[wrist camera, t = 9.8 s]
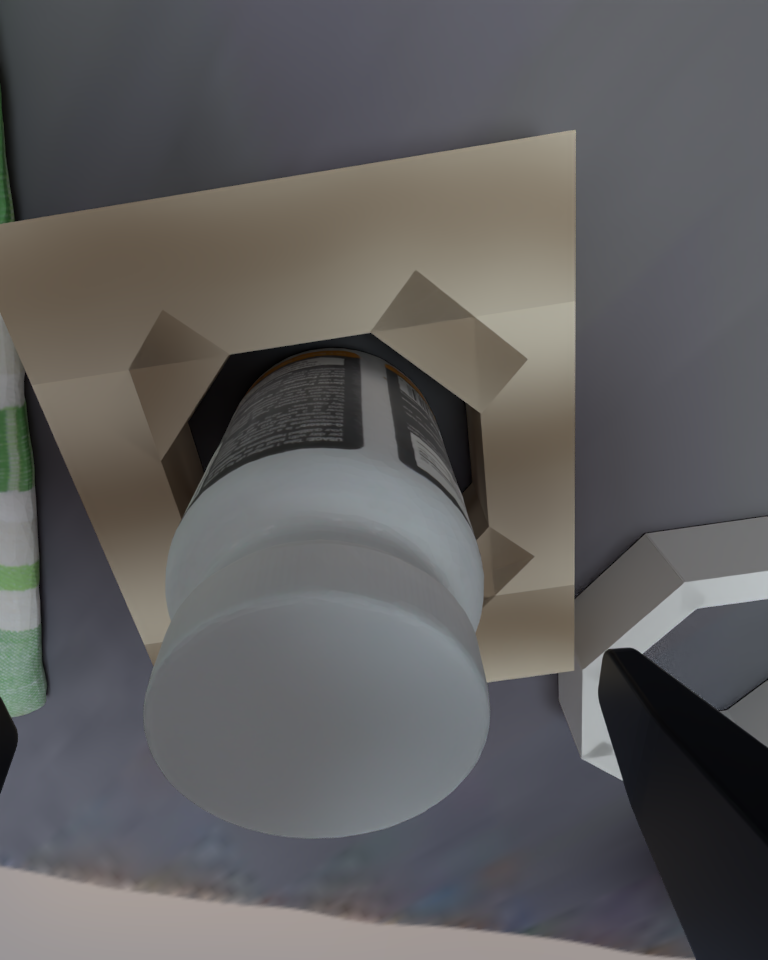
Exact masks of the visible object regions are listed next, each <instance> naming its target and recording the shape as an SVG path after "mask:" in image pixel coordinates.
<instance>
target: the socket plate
mask: <svg viewBox="0 0 768 960" xmlns="http://www.w3.org/2000/svg"><path fill="white" fill-rule="evenodd" d="M575 253H576V130H572V131H565V132H559V133H553V134H547V135H541V136H535V137H529V138H523V139H517V140H510V141H504V142H498V143H492V144H486V145H480V146H474V147H468V148H462V149H455V150H449V151H443V152H437V153H431V154H425V155H419V156H413V157H407V158H401V159H394V160H388V161H382V162H376V163H370V164H364V165H358V166H352V167H346V168H339V169H333V170H327V171H321V172H315V173H309V174H303V175H297V176H291V177H284V178H278V179H272V180H266V181H260V182H254V183H248V184H242V185H236V186H229V187H223V188H217V189H211V190H205V191H199V192H193V193H187V194H181V195H174V196H168V197H162V198H156V199H150V200H144V201H138V202H132V203H126V204H119V205H113V206H107V207H101V208H95V209H89V210H83V211H77V212H71V213H64V214H58V215H52V216H46V217H40V218H34V219H28V220H22V221H16V222H9V223H3V224H0V313H1V316H2V318H3V320H4V323H5V325H6V327H7V330H8V332H9V334H10V336H11V339H12V341H13V343H14V346H15V348H16V350H17V353H18V355H19V357H20V360H21V362H22V364H23V366H24V369H25V371H26V373H27V376H28V378H29V380H30V383H31V385H32V387H33V389H34V392H35V394H36V396H37V399H38V401H39V403H40V406H41V408H42V410H43V413H44V415H45V417H46V419H47V422H48V424H49V426H50V429H51V431H52V433H53V436H54V438H55V440H56V442H57V445H58V447H59V449H60V452H61V454H62V456H63V459H64V461H65V463H66V466H67V468H68V470H69V472H70V475H71V477H72V479H73V482H74V484H75V486H76V489H77V491H78V493H79V495H80V498H81V500H82V502H83V505H84V507H85V509H86V512H87V514H88V516H89V519H90V521H91V523H92V525H93V528H94V530H95V532H96V535H97V537H98V539H99V542H100V544H101V546H102V548H103V551H104V553H105V555H106V558H107V560H108V562H109V565H110V567H111V569H112V572H113V574H114V576H115V578H116V581H117V583H118V585H119V588H120V590H121V592H122V595H123V597H124V599H125V601H126V604H127V606H128V608H129V611H130V613H131V615H132V618H133V620H134V622H135V624H136V627H137V629H138V631H139V634H140V636H141V638H142V641H143V643H144V645H145V648H146V650H147V652H148V654H149V657H150V659H151V661H152V664H153V666H154V664H155V662H156V659H157V656H158V653H159V651H160V648H161V645H162V642H163V639H164V637H165V634H166V632H167V629H168V627H169V625H170V623H171V619H170V616H169V613H168V608H167V602H166V594H165V580H166V565H167V559H168V553H169V549H170V546H171V542H172V539H173V537H174V534H175V532H176V530H177V528H178V526H179V524H180V522H181V520H182V518H183V515H184V513H185V511H186V509H187V507H188V505H189V503H190V501H191V499H192V497H193V495H194V493H195V491H196V489H197V487H198V485H199V483H200V481H201V479H202V477H203V475H204V471H203V468H202V465H201V462H200V459H199V456H198V452H197V449H196V446H195V443H194V440H193V437H192V433H191V430H190V427H189V424H188V421H189V420H190V418H191V417H192V415H193V413H194V412H195V410H196V409H197V407H198V406H199V404H200V402H201V401H202V399H203V398H204V396H205V395H206V393H207V392H208V390H209V388H210V387H211V385H212V384H213V382H214V381H215V379H216V377H217V376H218V374H219V373H220V371H221V370H222V368H223V366H224V365H225V363H226V362H227V360H228V359H229V357H230V356H231V354H237V353H243V352H250V351H256V350H263V349H269V348H276V347H282V346H289V345H295V344H301V343H308V342H314V341H321V340H327V339H334V338H340V337H347V336H353V335H360V334H366V333H372V334H373V335H375V336H376V337H377V338H379V339H380V340H381V341H383V342H384V343H385V344H387V345H388V346H390V347H391V348H392V349H394V350H395V351H396V352H398V353H399V354H400V355H402V356H403V357H405V358H406V359H407V360H409V361H410V362H411V363H413V364H414V365H415V366H417V367H418V368H420V369H421V370H422V371H424V372H425V373H426V374H428V375H429V376H430V377H432V378H433V379H434V380H436V381H437V382H439V383H440V384H441V385H443V386H444V387H445V388H447V389H448V390H449V391H451V392H452V393H454V394H455V395H456V396H458V397H459V398H460V399H462V400H463V401H464V402H465V403H466V415H467V426H468V438H469V449H470V461H471V473H472V483H471V484H470V486H469V487H468V488H467V489H466V490H465V491H464V492H463V493H462V496H463V500H464V504H465V507H466V510H467V514H468V517H469V520H470V523H471V526H472V529H473V532H474V535H475V538H476V541H477V544H478V548H479V551H480V554H481V561H482V566H483V572H484V597H483V606H482V613H481V617H480V621H479V624H478V627H477V630H476V633H475V634H476V637H477V641H478V646H479V650H480V655H481V659H482V664H483V668H484V672H485V676H486V681H487V682H495V681H502V680H509V679H517V678H524V677H532V676H539V675H546V674H554V673H561V672H569V671H574V584H575Z"/></svg>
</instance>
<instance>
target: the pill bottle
mask: <svg viewBox="0 0 768 960" xmlns="http://www.w3.org/2000/svg"><path fill="white" fill-rule="evenodd" d="M165 594H166V602H167V608H168V613H169V616H170V619H171V623H170V625H169V627H168V629H167V632H166V634H165V637H164V639H163V642H162V645H161V648H160V651H159V653H158V656H157V659H156V662H155V664H154V667H153V670H152V673H151V677H150V680H149V684H148V687H147V691H146V695H145V701H144V712H143V721H144V731H145V735H146V739H147V742H148V746H149V749H150V752H151V754H152V756H153V758H154V759H155V761H156V763H157V765H158V766H159V768H160V770H161V771H162V773H163V774H164V776H165V777H166V778H167V780H168V781H169V782H170V783H171V784H172V785H173V786H174V787H175V788H176V789H177V790H178V791H179V792H180V793H181V794H182V795H184V796H185V797H186V798H187V799H189V800H190V801H192V802H193V803H194V804H196V805H197V806H199V807H200V808H202V809H203V810H205V811H207V812H209V813H211V814H213V815H215V816H217V817H219V818H221V819H222V820H224V821H227V822H230V823H233V824H235V825H238V826H240V827H243V828H246V829H250V830H254V831H258V832H262V833H266V834H270V835H277V836H284V837H291V838H307V839H315V838H337V837H346V836H353V835H359V834H364V833H369V832H373V831H378V830H382V829H385V828H388V827H391V826H394V825H397V824H399V823H401V822H404V821H406V820H408V819H411V818H413V817H415V816H417V815H419V814H421V813H423V812H425V811H426V810H428V809H429V808H430V807H432V806H434V805H435V804H437V803H439V802H440V801H441V800H443V799H444V798H445V797H446V796H448V795H449V794H450V793H451V792H453V791H454V790H455V789H456V788H457V787H458V786H459V785H460V783H461V782H462V781H463V780H464V779H465V778H466V777H467V776H468V775H469V773H470V772H471V771H472V769H473V768H474V766H475V765H476V763H477V761H478V759H479V758H480V755H481V753H482V750H483V748H484V745H485V743H486V740H487V736H488V731H489V725H490V700H489V692H488V685H487V681H486V676H485V672H484V668H483V664H482V659H481V655H480V650H479V646H478V641H477V637H476V634H475V633H476V630H477V627H478V624H479V621H480V617H481V613H482V606H483V597H484V572H483V566H482V561H481V554H480V551H479V548H478V544H477V541H476V538H475V535H474V532H473V529H472V526H471V523H470V520H469V517H468V514H467V510H466V507H465V504H464V500H463V496H462V494H461V491H460V489H459V486H458V484H457V481H456V478H455V476H454V473H453V470H452V467H451V464H450V461H449V458H448V455H447V452H446V449H445V446H444V443H443V440H442V437H441V434H440V430H439V427H438V425H437V422H436V419H435V416H434V415H433V413H432V411H431V409H430V407H429V405H428V403H427V401H426V399H425V398H424V396H423V395H422V393H421V392H420V390H419V389H418V388H417V387H416V385H415V384H414V383H413V382H412V381H411V380H410V379H409V378H408V377H407V376H406V375H405V374H403V373H402V372H401V371H400V370H398V369H397V368H396V367H394V366H392V365H391V364H389V363H388V362H386V361H384V360H383V359H381V358H378V357H376V356H373V355H371V354H368V353H365V352H361V351H357V350H350V349H345V348H323V349H316V350H309V351H305V352H302V353H299V354H296V355H293V356H291V357H288V358H286V359H284V360H282V361H281V362H279V363H277V364H275V365H274V366H272V367H271V368H270V369H269V370H267V371H266V372H265V373H264V374H262V375H261V376H260V377H259V378H258V379H257V380H256V381H255V383H254V384H253V385H252V386H251V387H250V388H249V390H248V391H247V393H246V394H245V396H244V397H243V399H242V400H241V402H240V403H239V405H238V407H237V409H236V411H235V413H234V415H233V417H232V419H231V421H230V424H229V426H228V428H227V430H226V432H225V434H224V436H223V438H222V440H221V442H220V444H219V446H218V448H217V450H216V452H215V453H214V455H213V457H212V459H211V461H210V462H209V464H208V466H207V469H206V471H205V473H204V475H203V477H202V479H201V481H200V483H199V485H198V487H197V489H196V491H195V493H194V495H193V497H192V499H191V501H190V503H189V505H188V507H187V509H186V511H185V513H184V515H183V518H182V520H181V522H180V524H179V526H178V528H177V530H176V532H175V534H174V537H173V539H172V542H171V546H170V549H169V553H168V559H167V565H166V580H165Z"/></svg>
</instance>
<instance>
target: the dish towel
mask: <svg viewBox="0 0 768 960" xmlns="http://www.w3.org/2000/svg"><path fill="white" fill-rule="evenodd" d="M9 222H15V217H14V209H13V203H12V196H11V190H10V183H9V176H8V168H7V161H6V153H5V139H4V125H3V116H2V104H1V85H0V224H3V223H9ZM24 376H25V369H24V366H23V364H22V362H21V360H20V357H19V355H18V353H17V350H16V348H15V346H14V343H13V341H12V339H11V336H10V334H9V332H8V330H7V327H6V325H5V323H4V320H3V318H2V316H1V313H0V697H1V698H2V700H3V702H4V704H5V706H6V708H7V710H8V712H9V714H10V716H11V717H17V716H21V715H25V714H29V713H31V712H33V711H35V710H37V709H40V708H41V707H42V706H44V704H45V702H46V689H47V682H46V677H45V673H44V668H43V663H42V644H41V613H40V594H39V580H40V575H39V546H38V527H37V507H36V493H35V467H34V458H33V451H32V445H31V440H30V433H29V426H28V417H27V408H26V401H25V397H24Z"/></svg>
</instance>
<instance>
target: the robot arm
mask: <svg viewBox="0 0 768 960" xmlns="http://www.w3.org/2000/svg"><path fill="white" fill-rule="evenodd" d="M598 699H599V704H600V707H601V711H602V714H603V717H604V720H605V724H606V727H607V730H608V733H609V737H610V740H611V743H612V746H613V750H614V753H615V756H616V759H617V763H618V766H619V769H620V772H621V776H622V779H623V782H624V786H625V789H626V792H627V795H628V798H629V801H630V804H631V807H632V809H633V812H634V814H635V817H636V819H637V822H638V824H639V827H640V829H641V831H642V834H643V836H644V838H645V841H646V843H647V845H648V848H649V850H650V853H651V855H652V857H653V860H654V862H655V864H656V867H657V869H658V871H659V874H660V876H661V878H662V881H663V883H664V885H665V888H666V890H667V892H668V895H669V897H670V899H671V902H672V904H673V907H674V909H675V911H676V914H677V916H678V918H679V921H680V923H681V925H682V928H683V930H684V932H685V935H686V937H687V939H688V942H689V944H690V946H691V949H692V951H693V954H694V956H695V958H696V960H768V747H767V746H765V745H764V744H762V743H761V742H760V741H758V740H757V739H756V738H754V737H753V736H752V735H750V734H749V733H748V732H746V731H745V730H744V729H742V728H741V727H740V726H738V725H737V724H736V723H734V722H733V721H732V720H730V719H729V718H728V717H726V716H725V715H724V714H722V713H721V712H720V711H718V710H717V709H716V708H714V707H713V706H711V705H710V704H709V703H707V702H706V701H705V700H703V699H702V698H701V697H699V696H698V695H697V694H695V693H694V692H693V691H691V690H690V689H689V688H687V687H686V686H685V685H683V684H682V683H681V682H679V681H678V680H677V679H675V678H674V677H673V676H671V675H670V674H669V673H667V672H666V671H665V670H663V669H662V668H660V667H659V666H658V665H656V664H655V663H654V662H652V661H651V660H650V659H648V658H647V657H646V656H644V655H643V654H642V653H640V652H639V651H638V650H636V649H634V648H614V649H608V650H606V651H605V652H604V654H603V658H602V665H601V671H600V678H599V685H598ZM17 742H18V733H17V729H16V726H15V724H14V722H13V720H12V718H11V716H10V714H9V712H8V710H7V708H6V706H5V704H4V702H3V700H2V698H1V697H0V793H1V790H2V787H3V785H4V782H5V779H6V776H7V773H8V770H9V767H10V765H11V762H12V759H13V756H14V753H15V750H16V747H17Z"/></svg>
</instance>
